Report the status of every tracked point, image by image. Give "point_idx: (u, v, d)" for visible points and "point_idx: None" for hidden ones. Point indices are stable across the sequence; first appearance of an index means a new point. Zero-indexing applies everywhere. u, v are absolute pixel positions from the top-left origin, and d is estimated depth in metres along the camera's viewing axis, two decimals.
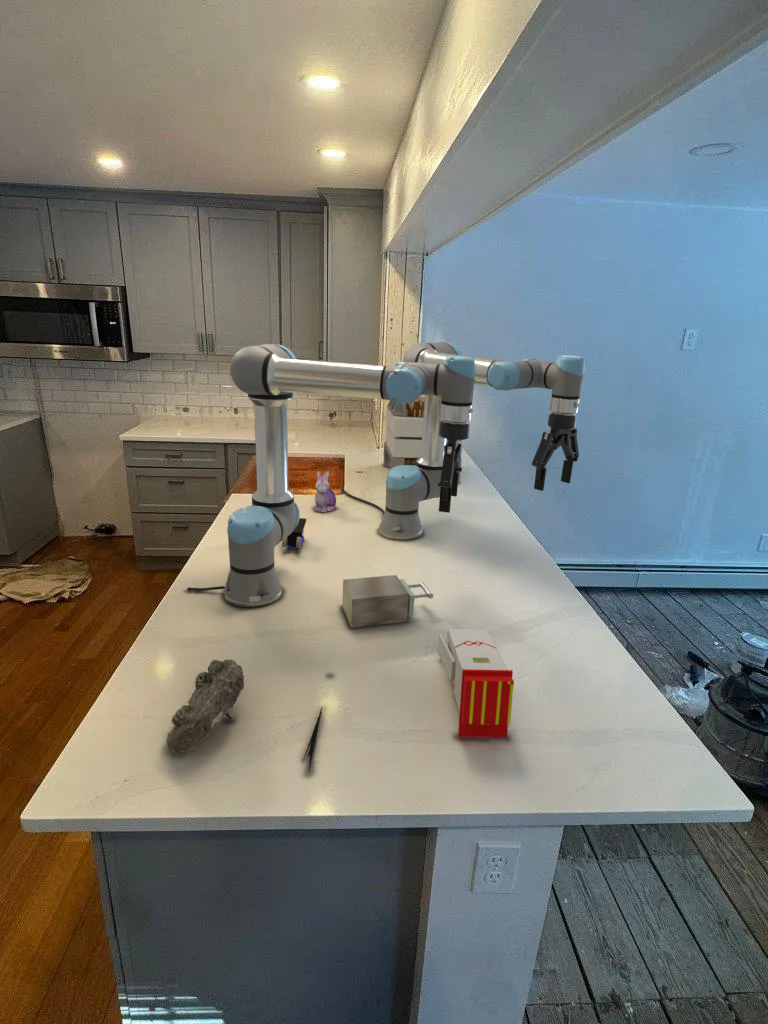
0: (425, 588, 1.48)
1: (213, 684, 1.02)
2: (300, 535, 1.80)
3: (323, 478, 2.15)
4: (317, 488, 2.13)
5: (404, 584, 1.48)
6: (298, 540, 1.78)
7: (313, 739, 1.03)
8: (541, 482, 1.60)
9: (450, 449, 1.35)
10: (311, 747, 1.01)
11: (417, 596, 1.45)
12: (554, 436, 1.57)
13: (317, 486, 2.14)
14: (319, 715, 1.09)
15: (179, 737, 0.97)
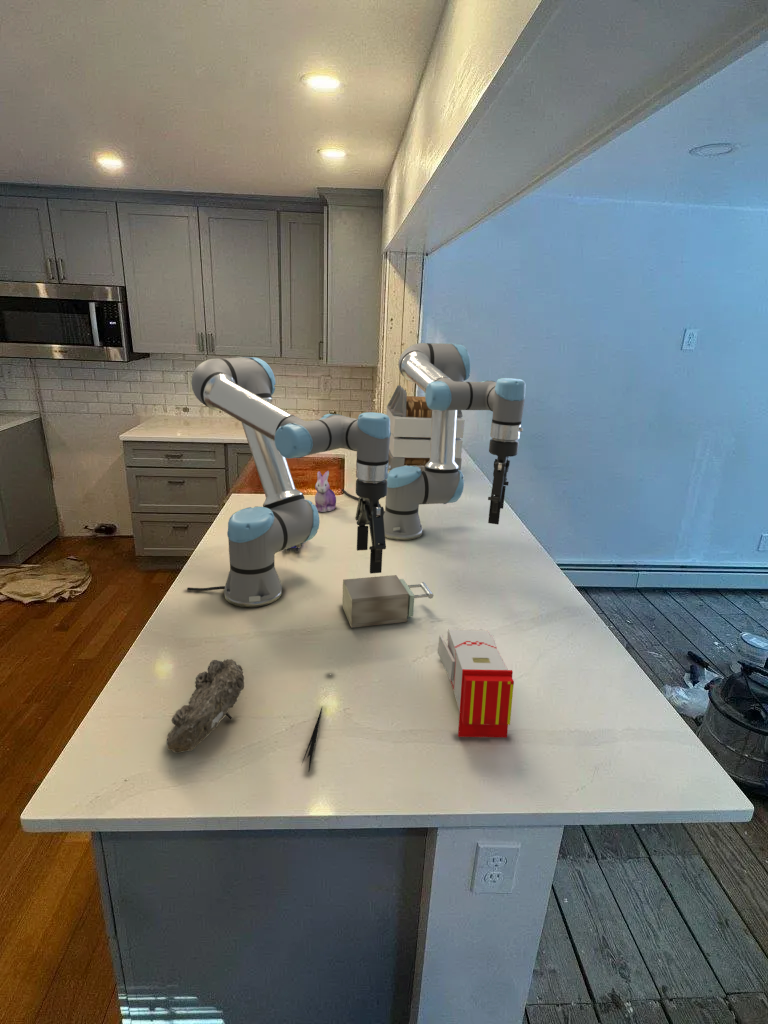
0: (425, 588, 1.48)
1: (213, 684, 1.02)
2: None
3: (323, 478, 2.15)
4: (317, 488, 2.13)
5: (404, 584, 1.48)
6: None
7: (313, 739, 1.03)
8: (497, 515, 1.48)
9: (379, 510, 1.30)
10: (311, 747, 1.01)
11: (417, 596, 1.45)
12: None
13: (317, 486, 2.14)
14: (319, 715, 1.09)
15: (179, 737, 0.97)
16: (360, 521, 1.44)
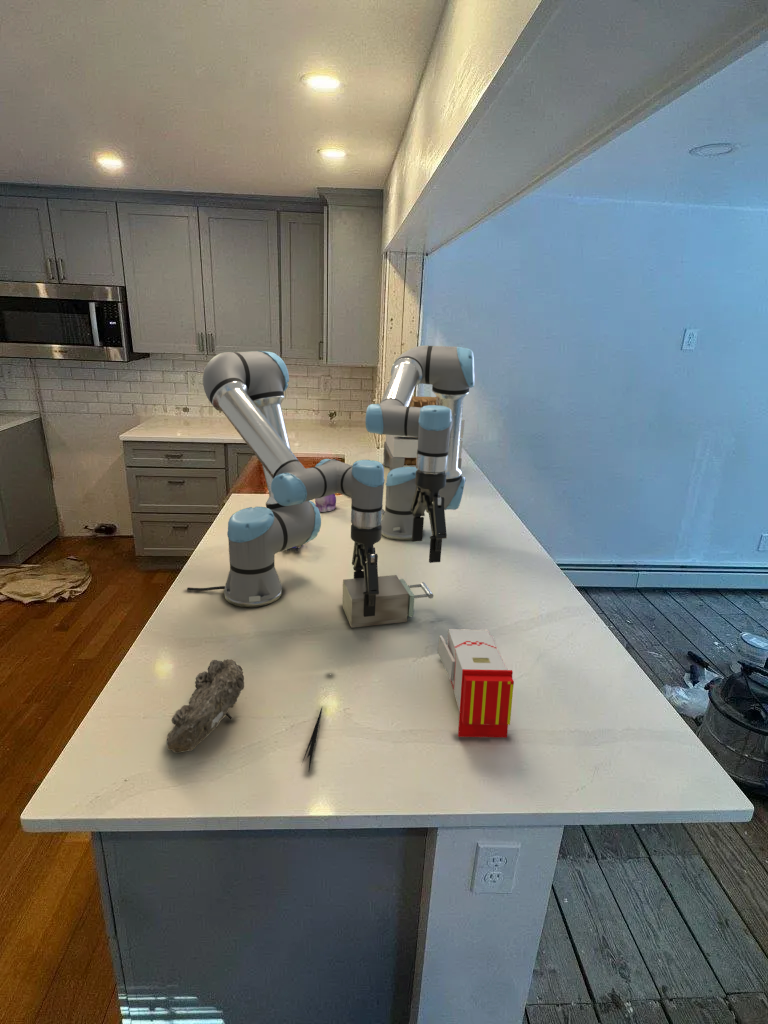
0: (425, 588, 1.48)
1: (213, 684, 1.02)
2: None
3: None
4: None
5: (404, 584, 1.48)
6: None
7: (313, 739, 1.03)
8: (439, 553, 1.38)
9: (373, 558, 1.34)
10: (311, 747, 1.01)
11: (417, 596, 1.45)
12: None
13: None
14: (319, 715, 1.09)
15: (179, 737, 0.97)
16: (356, 566, 1.47)
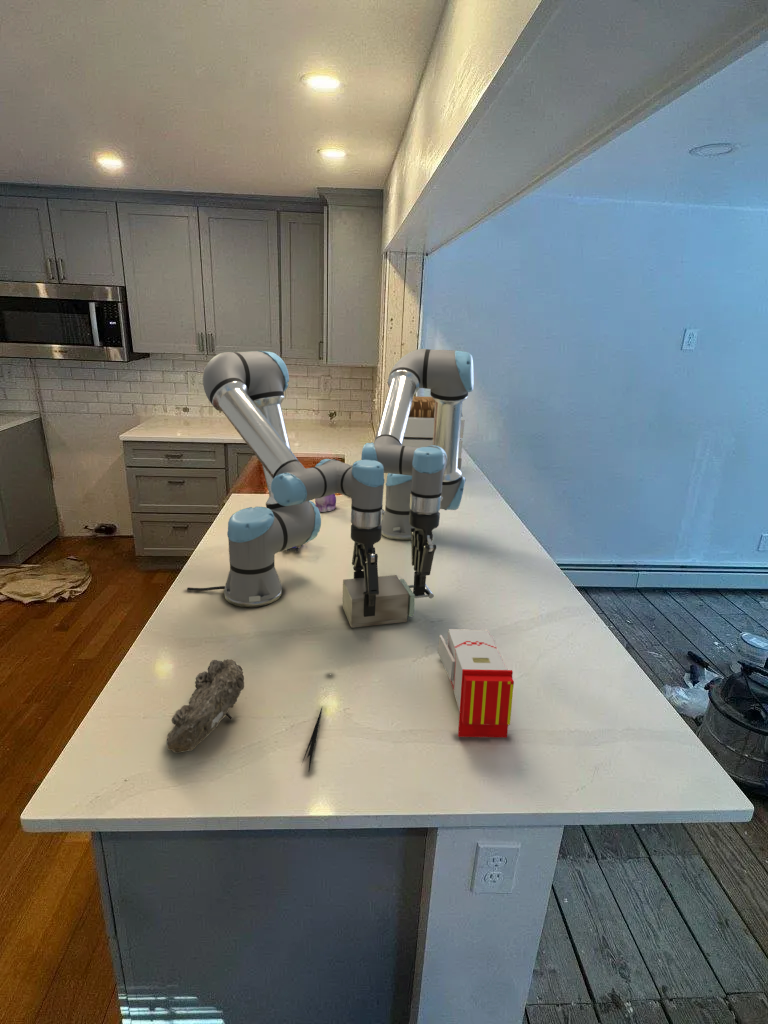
0: (425, 588, 1.48)
1: (213, 684, 1.02)
2: None
3: None
4: None
5: (404, 584, 1.48)
6: None
7: (313, 739, 1.03)
8: (423, 588, 1.47)
9: (373, 558, 1.34)
10: (311, 747, 1.01)
11: (417, 596, 1.45)
12: (431, 538, 1.39)
13: None
14: (319, 715, 1.09)
15: (179, 737, 0.97)
16: (356, 566, 1.47)
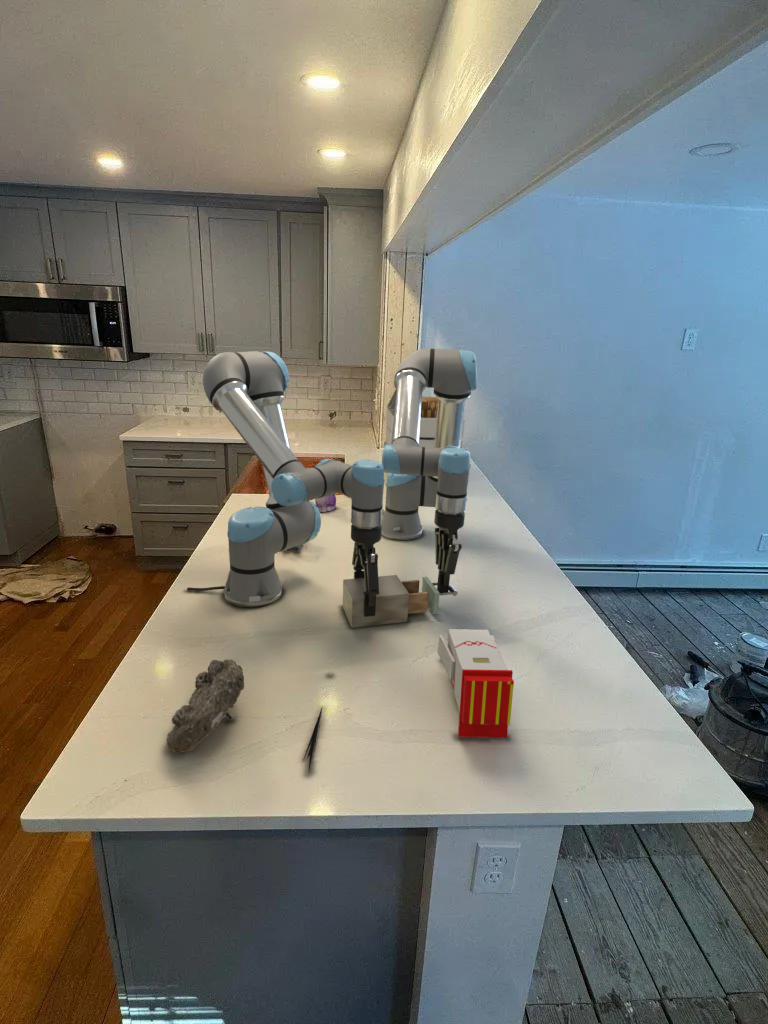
0: (449, 586, 1.50)
1: (213, 684, 1.02)
2: None
3: None
4: None
5: (428, 582, 1.50)
6: None
7: (313, 739, 1.03)
8: (447, 586, 1.49)
9: (373, 558, 1.34)
10: (311, 747, 1.01)
11: (442, 593, 1.47)
12: (457, 538, 1.41)
13: None
14: (319, 715, 1.09)
15: (179, 737, 0.97)
16: (356, 566, 1.47)
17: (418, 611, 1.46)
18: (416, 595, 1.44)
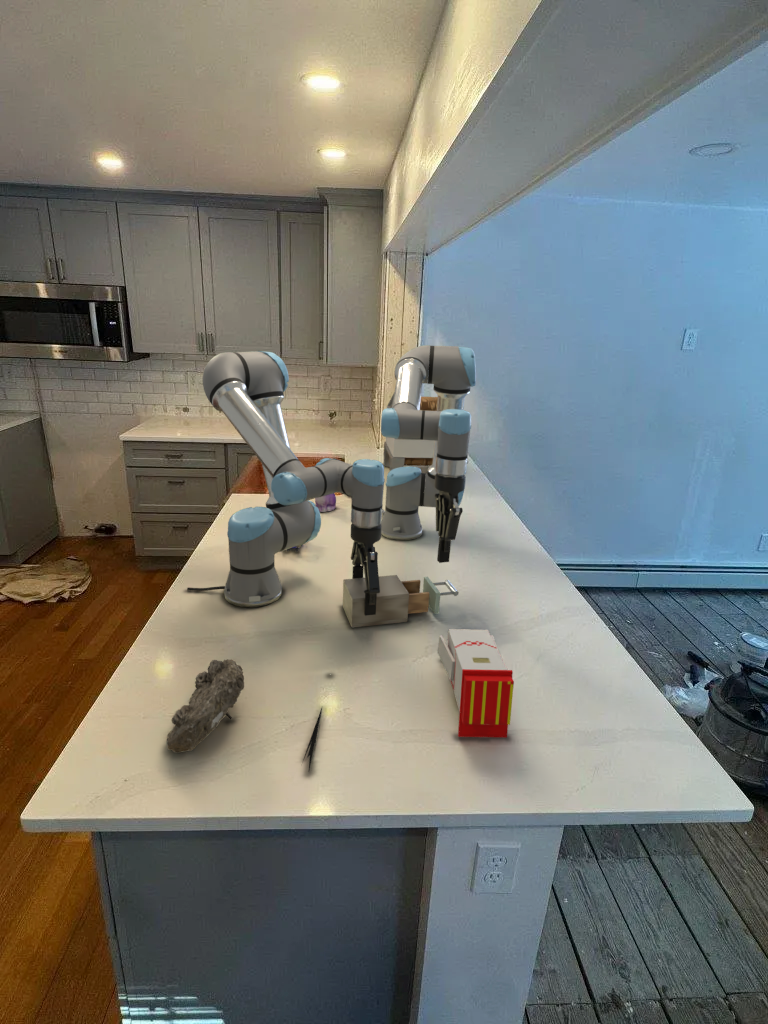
0: (450, 586, 1.50)
1: (213, 684, 1.02)
2: None
3: None
4: None
5: (429, 582, 1.50)
6: None
7: (313, 739, 1.03)
8: (448, 553, 1.46)
9: (373, 555, 1.33)
10: (311, 747, 1.01)
11: (443, 593, 1.47)
12: (458, 502, 1.38)
13: None
14: (319, 715, 1.09)
15: (179, 737, 0.97)
16: (355, 562, 1.47)
17: (419, 611, 1.46)
18: (417, 595, 1.44)
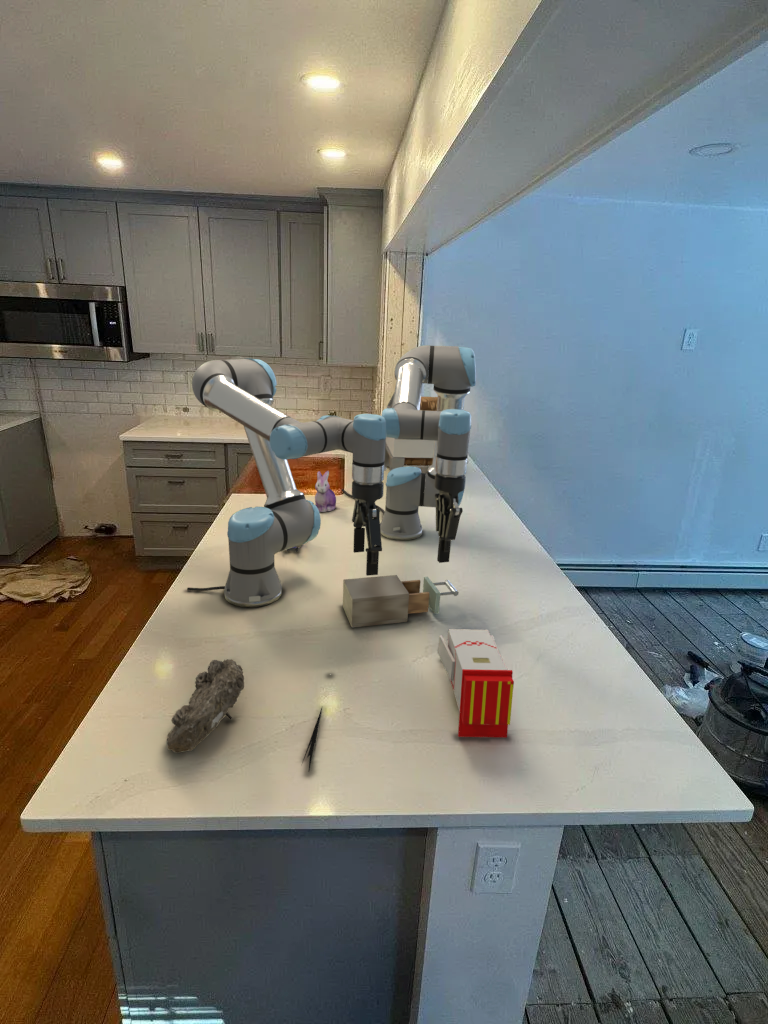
0: (450, 586, 1.50)
1: (213, 684, 1.02)
2: None
3: (323, 478, 2.15)
4: (317, 488, 2.13)
5: (429, 582, 1.50)
6: None
7: (313, 739, 1.03)
8: (448, 553, 1.46)
9: (375, 512, 1.30)
10: (311, 747, 1.01)
11: (443, 593, 1.47)
12: (458, 502, 1.38)
13: (317, 486, 2.14)
14: (319, 715, 1.09)
15: (179, 737, 0.97)
16: (357, 523, 1.44)
17: (419, 611, 1.46)
18: (417, 595, 1.44)
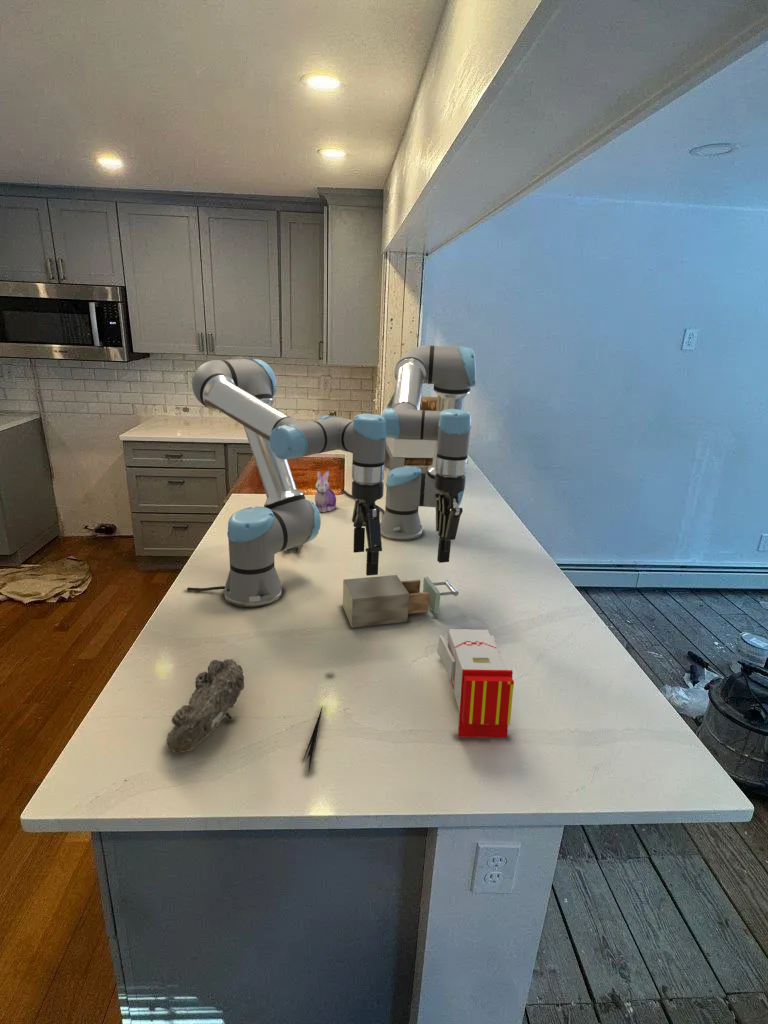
0: (450, 586, 1.50)
1: (213, 684, 1.02)
2: None
3: (323, 478, 2.15)
4: (317, 488, 2.13)
5: (429, 582, 1.50)
6: None
7: (313, 739, 1.03)
8: (448, 553, 1.46)
9: (375, 512, 1.30)
10: (311, 747, 1.01)
11: (442, 593, 1.47)
12: (458, 502, 1.38)
13: (317, 486, 2.14)
14: (319, 715, 1.09)
15: (179, 737, 0.97)
16: (357, 523, 1.44)
17: (419, 611, 1.46)
18: (417, 595, 1.44)
